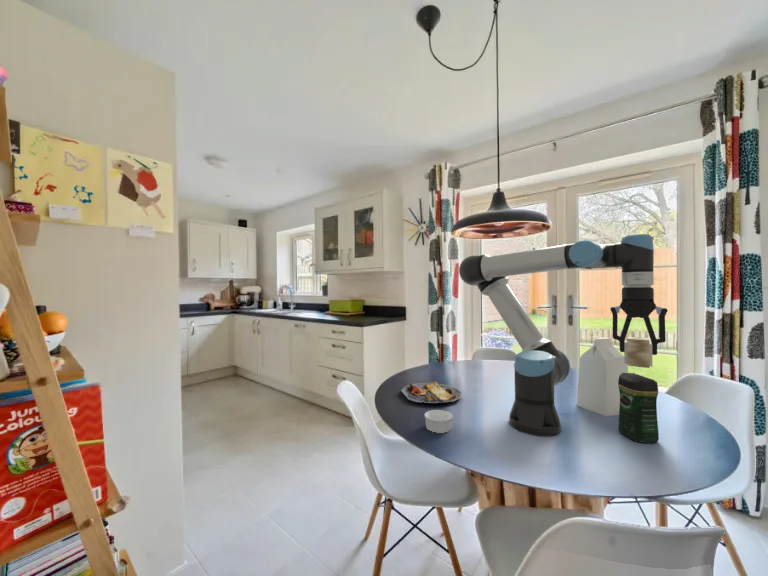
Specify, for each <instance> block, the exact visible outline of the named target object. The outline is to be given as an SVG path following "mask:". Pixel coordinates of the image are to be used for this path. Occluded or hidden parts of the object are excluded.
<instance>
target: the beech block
mask: <svg viewBox="0 0 768 576" xmlns="http://www.w3.org/2000/svg"><path fill="white" fill-rule="evenodd" d="M626 341H627V342H628V367H637V368H645V369H646V368H648V369H650V368H651V366H650V351H649V343H650V338H648V337H640V336H639V337H636V336H635V337H634V336H626Z"/></svg>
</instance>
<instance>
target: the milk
mask: <svg viewBox="0 0 768 576" xmlns="http://www.w3.org/2000/svg"><path fill="white" fill-rule="evenodd" d="M578 362H579V365H578V377H577V379H578V381H577V397H576V406H577V407H579V408H582V407H583V409H586V410H588V411H590V410H591V412H593V413H595V412H596V413H595V414H598V415H600V414H601V416H604V417H607V416H608V417H612V416H616V415H617V416H619V408H620V392H619V387H618V380H619V376H620V375H621V374H622V373H629V366H628V364H625V363H624V354H622V352H620V350H618V349H617V348H616V347H615V346H614V345H613V342H612V339H611V338H610V337H598V338H596V337H595V338H594V341H593V344H592V346H591V347H590V348H589V349H587V350H586V351H584V353H582V354H581V355H580V357H579V361H578Z"/></svg>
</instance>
